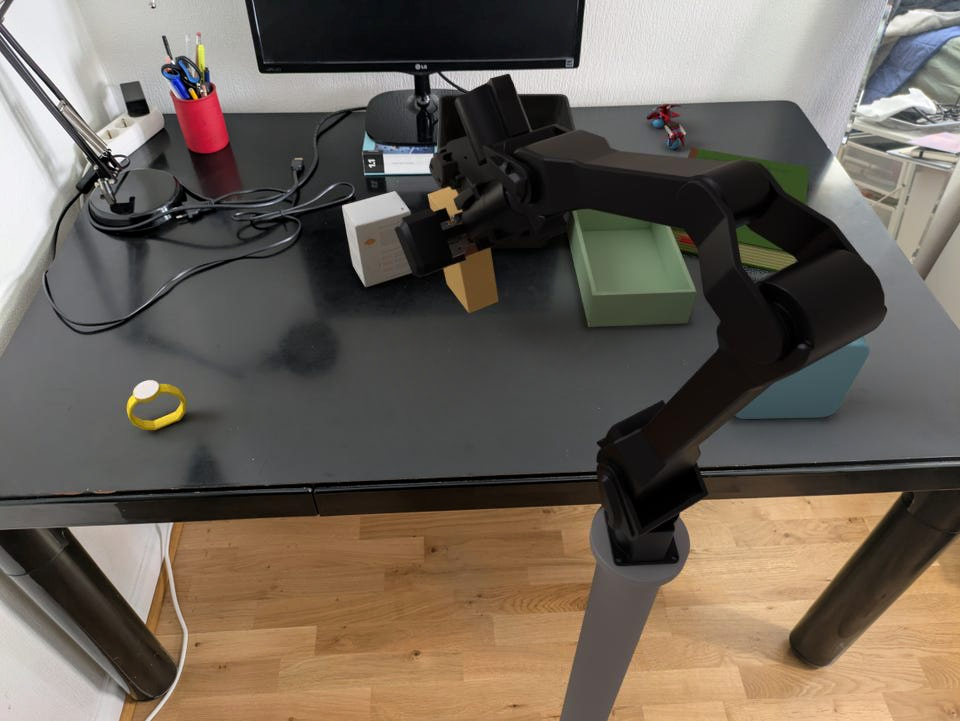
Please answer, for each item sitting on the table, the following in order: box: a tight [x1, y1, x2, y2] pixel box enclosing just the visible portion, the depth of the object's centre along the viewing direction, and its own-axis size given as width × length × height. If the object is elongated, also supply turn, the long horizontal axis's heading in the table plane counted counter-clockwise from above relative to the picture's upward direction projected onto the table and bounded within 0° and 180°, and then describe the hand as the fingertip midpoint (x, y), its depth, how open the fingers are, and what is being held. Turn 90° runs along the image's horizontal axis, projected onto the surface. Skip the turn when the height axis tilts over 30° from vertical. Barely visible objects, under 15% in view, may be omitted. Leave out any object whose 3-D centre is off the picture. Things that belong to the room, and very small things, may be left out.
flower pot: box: [436, 93, 577, 250], centre depth 101 cm, size 19×19×17 cm
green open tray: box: [566, 209, 697, 328], centre depth 96 cm, size 21×13×6 cm, turn 3°
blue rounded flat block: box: [734, 336, 871, 420], centre depth 77 cm, size 12×4×12 cm, turn 91°
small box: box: [341, 190, 412, 288], centre depth 96 cm, size 8×6×10 cm
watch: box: [126, 379, 187, 431], centre depth 78 cm, size 6×3×6 cm, turn 118°
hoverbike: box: [646, 103, 687, 150], centre depth 124 cm, size 5×12×6 cm, turn 9°
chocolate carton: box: [427, 187, 499, 314], centre depth 81 cm, size 7×4×13 cm, turn 25°
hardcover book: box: [670, 146, 810, 272], centre depth 106 cm, size 25×19×4 cm
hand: (458, 239), depth 82 cm, fingers closed on chocolate carton, 4 cm apart
